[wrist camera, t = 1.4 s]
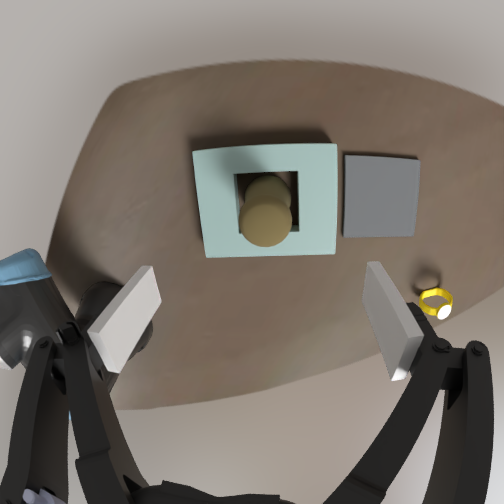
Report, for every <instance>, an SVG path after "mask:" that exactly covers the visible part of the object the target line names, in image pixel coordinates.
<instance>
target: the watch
mask: <svg viewBox="0 0 504 504" xmlns="http://www.w3.org/2000/svg"><path fill="white" fill-rule="evenodd" d="M433 295H439V296H443V297H444V298H446V299H447V300H448V302H449V304H448V303H443V304H441V305H440V306H439V307H438V308H434V307H430V306H428V305H426V304H425V303H424V302H423V298H425V297H429V296H433ZM452 301H453V297H452V296H451V294H450V293H449V292H448V291H446V290H445V289H442V288H433V289H430V290H426V291H423V292H422V293H421V294H420V299H419V306H420V308H421V309H422V310H423V311H424V312H425V313H427V314H429V315H435V316H437V317H438V318H439V319H444V318H446V317H447V316H448V315H449V313H450V311H451V307H452Z"/></svg>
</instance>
